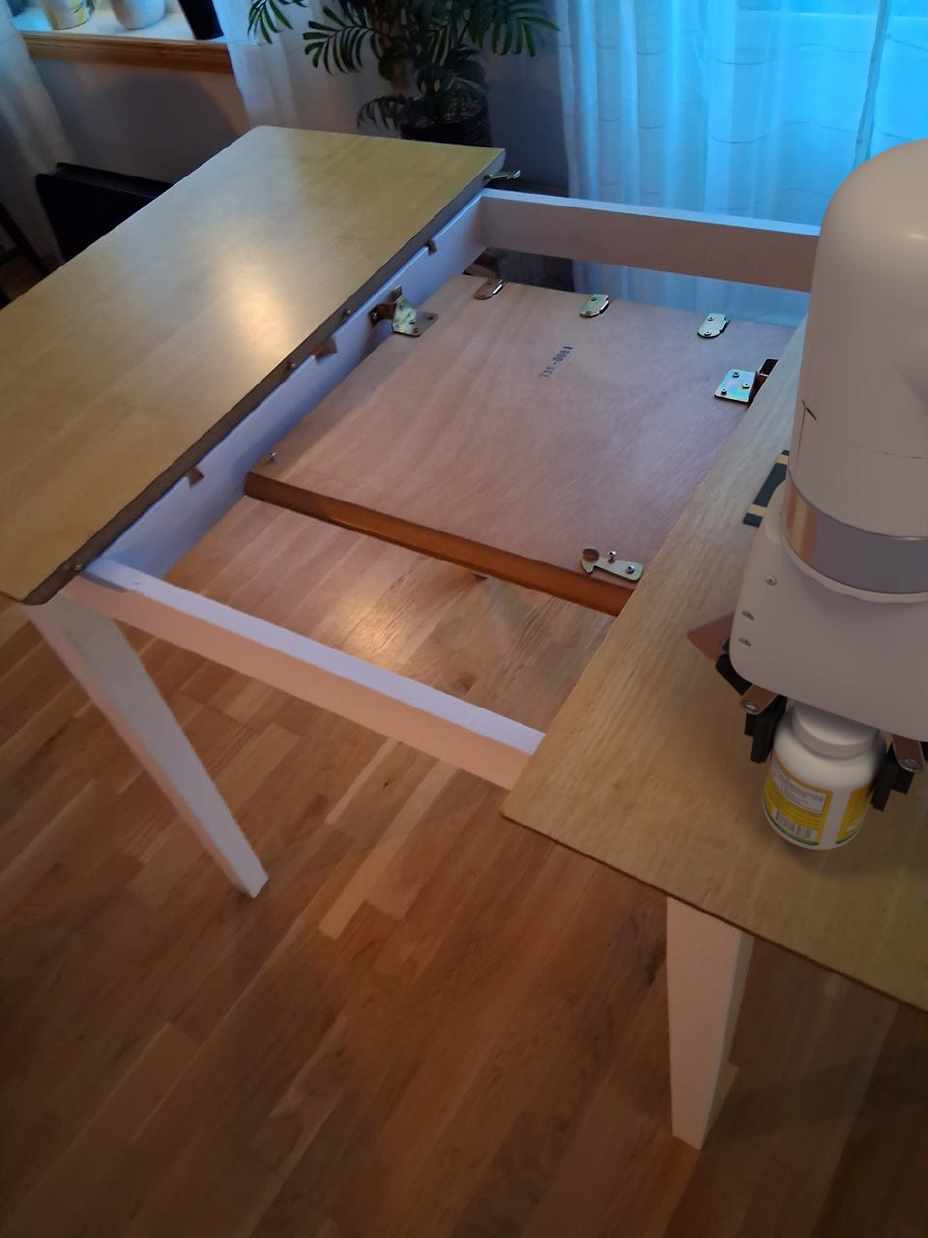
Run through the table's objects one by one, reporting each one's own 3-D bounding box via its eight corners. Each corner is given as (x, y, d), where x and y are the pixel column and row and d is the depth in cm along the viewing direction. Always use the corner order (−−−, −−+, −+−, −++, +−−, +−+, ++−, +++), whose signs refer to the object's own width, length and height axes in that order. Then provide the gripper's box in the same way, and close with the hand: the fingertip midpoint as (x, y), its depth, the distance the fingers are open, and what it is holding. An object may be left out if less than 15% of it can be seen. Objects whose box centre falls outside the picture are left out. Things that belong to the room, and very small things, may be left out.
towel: (857, 471, 73) (859, 466, 73) (820, 545, 69) (821, 540, 68) (783, 452, 76) (783, 448, 75) (742, 523, 71) (743, 518, 71)
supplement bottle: (772, 856, 50) (791, 760, 43) (753, 771, 53) (767, 670, 46) (876, 850, 49) (913, 752, 42) (850, 764, 53) (879, 660, 46)
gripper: (1173, 498, 32) (1022, 771, 46) (707, 400, 40) (695, 658, 54) (1141, 649, 29) (987, 898, 42) (634, 509, 36) (640, 757, 50)
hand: (824, 762), depth 48 cm, fingers closed on supplement bottle, 5 cm apart
